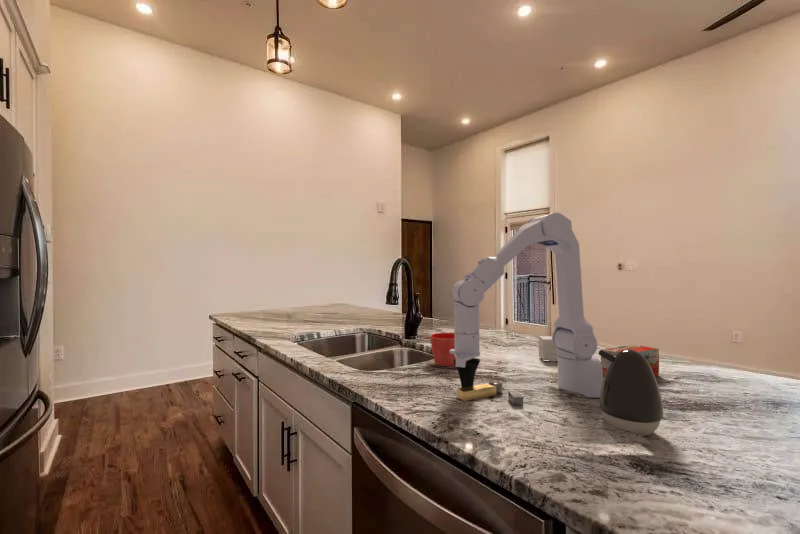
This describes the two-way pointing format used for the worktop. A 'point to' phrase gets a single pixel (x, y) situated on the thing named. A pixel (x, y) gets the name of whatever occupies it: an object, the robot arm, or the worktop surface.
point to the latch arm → (479, 391)
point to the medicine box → (647, 352)
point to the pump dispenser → (630, 393)
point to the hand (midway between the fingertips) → (467, 390)
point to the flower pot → (443, 348)
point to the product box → (547, 349)
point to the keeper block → (515, 398)
